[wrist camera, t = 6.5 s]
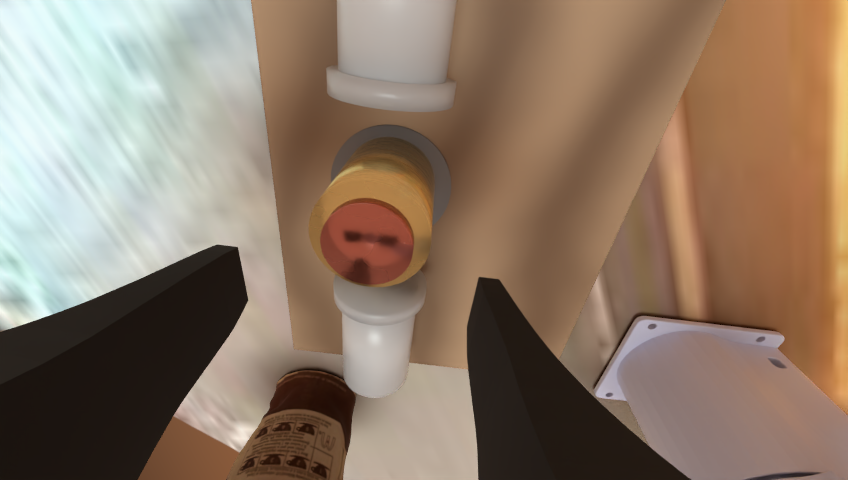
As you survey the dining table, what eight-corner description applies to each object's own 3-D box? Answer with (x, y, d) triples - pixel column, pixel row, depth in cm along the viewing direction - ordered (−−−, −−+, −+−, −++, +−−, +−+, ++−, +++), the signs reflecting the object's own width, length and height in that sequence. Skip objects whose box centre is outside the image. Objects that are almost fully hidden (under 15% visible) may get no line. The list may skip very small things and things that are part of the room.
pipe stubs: (483, -123, 12) (503, -204, 8) (416, 343, 24) (410, 409, 20) (343, -142, 12) (289, -234, 8) (346, 335, 24) (326, 399, 20)
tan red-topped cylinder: (439, 141, 16) (437, 195, 11) (430, 225, 18) (424, 302, 13) (344, 132, 16) (296, 181, 11) (347, 216, 18) (308, 291, 13)
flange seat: (460, 133, 16) (460, 134, 16) (442, 243, 19) (442, 245, 19) (330, 116, 16) (328, 117, 16) (333, 230, 19) (332, 232, 19)
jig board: (771, -140, 12) (797, -153, 11) (546, 366, 25) (549, 378, 24) (238, -214, 11) (222, -233, 11) (299, 338, 25) (294, 349, 24)
